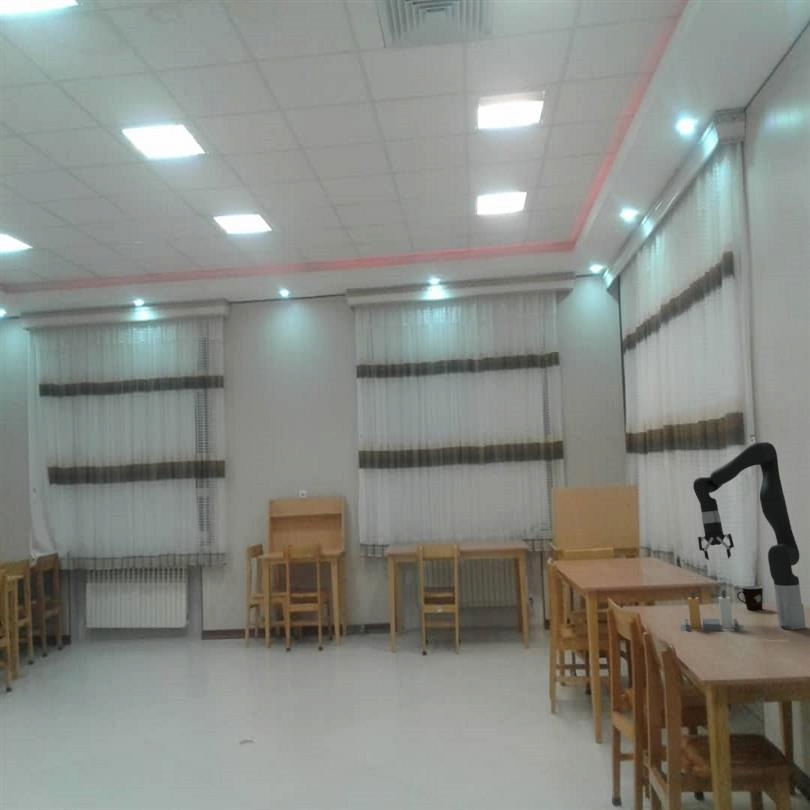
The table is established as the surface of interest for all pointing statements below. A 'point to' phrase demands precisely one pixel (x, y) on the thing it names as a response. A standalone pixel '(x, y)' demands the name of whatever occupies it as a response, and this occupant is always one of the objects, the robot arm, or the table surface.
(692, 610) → the orange plug
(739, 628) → the cable rack
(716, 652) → the table surface
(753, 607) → the coffee mug
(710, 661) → the table surface
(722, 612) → the white bottle
